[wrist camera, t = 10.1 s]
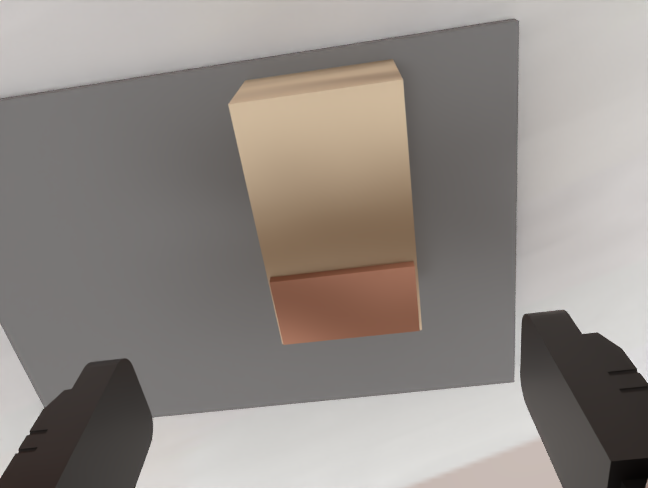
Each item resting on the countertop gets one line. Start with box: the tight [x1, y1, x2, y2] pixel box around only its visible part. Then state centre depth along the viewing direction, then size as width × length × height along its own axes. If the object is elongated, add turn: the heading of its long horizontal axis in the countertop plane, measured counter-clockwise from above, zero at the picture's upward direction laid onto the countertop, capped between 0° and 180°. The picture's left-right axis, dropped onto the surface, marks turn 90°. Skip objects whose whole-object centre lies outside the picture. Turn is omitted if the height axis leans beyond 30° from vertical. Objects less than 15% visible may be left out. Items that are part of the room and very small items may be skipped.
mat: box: [0, 19, 519, 417], centre depth 21 cm, size 20×14×1 cm
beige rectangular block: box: [228, 59, 422, 345], centre depth 17 cm, size 8×5×3 cm, turn 8°
